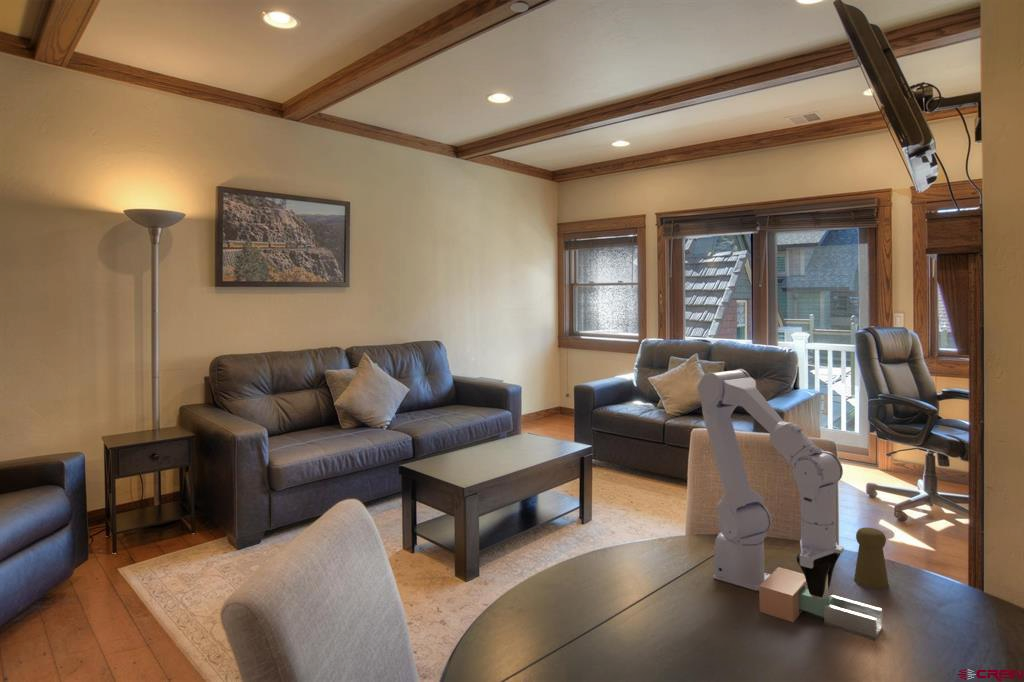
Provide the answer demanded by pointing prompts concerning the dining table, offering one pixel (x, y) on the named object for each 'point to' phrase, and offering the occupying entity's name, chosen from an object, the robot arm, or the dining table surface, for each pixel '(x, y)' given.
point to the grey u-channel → (854, 617)
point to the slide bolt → (815, 601)
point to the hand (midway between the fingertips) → (819, 591)
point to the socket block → (782, 594)
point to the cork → (871, 559)
